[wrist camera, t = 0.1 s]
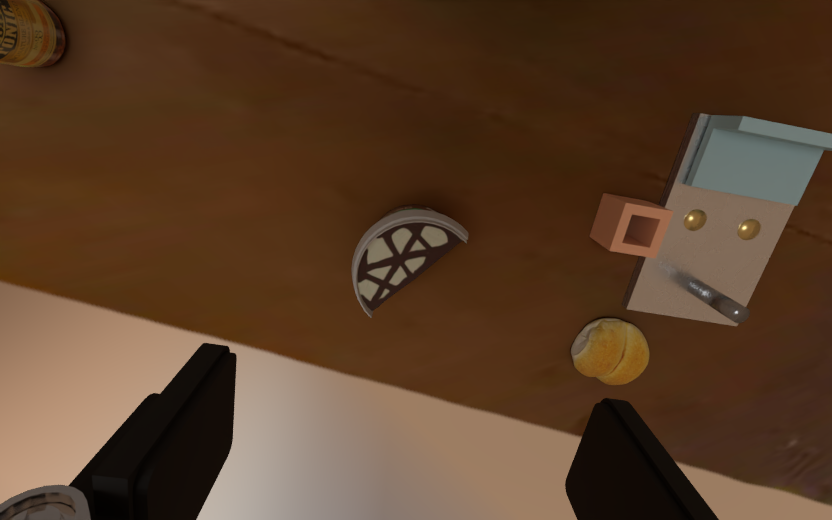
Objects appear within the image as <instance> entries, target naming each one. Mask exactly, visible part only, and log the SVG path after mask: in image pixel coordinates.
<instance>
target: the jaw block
mask: <svg viewBox="0 0 832 520" xmlns="http://www.w3.org/2000/svg"><path fill="white" fill-rule="evenodd" d="M673 212H674V211H672V210H669V209H667V208H664V207H661V206H659V205H656V204H654V203H651V202H649V201H645V200H640V199H634V198H629V197H623V196H617V195H612V194H606V193H603V196H602V199H601V202H600V205H599V208H598V211H597V214H596V217H595V221H594V224H593V227H592V230H591V233H590V236H589V237H591V238H592V239H593V240H595V241H596V242H598V243H599V244H601V245H602V246H603V247H605V248H606V249H608V250H609V251H614V252H620V253H626V254H632V255H638V256H644V257H650V258H656V256H657V253H658V251H659V248H660V246H661V243H662V240H663V238H664V235H665V233H666V230H667V228H668V225H669V222H670V220H671V217H672V215H673ZM632 214H633V215H632ZM631 216H632V218H631ZM630 219H631V221H630ZM629 222H630V223H629ZM628 225H629V226H628ZM627 228H628V229H627ZM626 230H627V232H626ZM625 233H626V234H625Z"/></svg>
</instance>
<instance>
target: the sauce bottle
mask: <svg viewBox="0 0 832 520" xmlns="http://www.w3.org/2000/svg"><path fill="white" fill-rule="evenodd" d="M65 46H66V45H65V34H64V31H63V28H62V24H61V22H60V20H59V18H58V17H57V16H56V14H55V13H54V12H53V11H51V10H50V8H49V7H47V6H46V5H45V4H44V3H42V2H41V1H40V0H0V63H1V64H8V65H14V66H21V67H45V66H50V65H52V64H54V63H55V62H56V61H57V60H58V59H59V58H60V57H61V56H62V54H63V53H64V48H65Z"/></svg>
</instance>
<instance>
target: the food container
mask: <svg viewBox="0 0 832 520" xmlns="http://www.w3.org/2000/svg"><path fill="white" fill-rule="evenodd" d="M467 239H468V232H467V231H466V230H465V229H464V228H463V227H462V226H461V225H460V224H459V223H457V222H456V221H454V220H453V219H451V218H449V217H447V216H445V215H443V214H440V213H438V212H436V211H434V210H432V209H431V208H429V207H426V206H421V205H415V204H412V205H404V206H399V207H397V208H395V209H392V210H390V211H389V212H387V213H386V214H385V215H384V216H383V217H382V218H381V219H380V220H379V221H378V222H377V223H376V224H374V225H373V226H372V227H371V228H370V229H369V230H368V231H367V232H366V233H365V234H364V236H363V237H362V239H361V240H360V242H359V244H358V246H357V248H356V250H355V253H354V256H353V261H352V280H353V285H354V289H355V293H356V296H357V298H358V301H359V303H360V304H361V306H362V308H363V309H364V311H365V312H366V313H367V314H368V315H369V316H370V317H372V313H373V310H374V309H376V308H377V307H379V306H380V305H381V304H382V303H383V302H384V301H385V300H387V299H388V298H389V297H391V296H392V295H393V294H395V293H396V292H397V291H399V290H400V289H401V288H403V287H404V286H406V285H407V284H409V283H410V282H411V281H413V280H414V279H416V278H417V277H418V276H419V275H420V274H421V273H423V272H424V271H425V270H426V269H427V268H429V267H430V266H431V265H432V264H433V263H435V262H436V261H437V260H438V259H439V258H441V257H442V256H443V255H445V254H446V253H447V252H448V251H450V250H451V249H452V248H453V247H455V246H456V245H457V244H459V243H460V242H461V241H462V240H463V241H464V242H465V243H467V242H466V240H467Z"/></svg>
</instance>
